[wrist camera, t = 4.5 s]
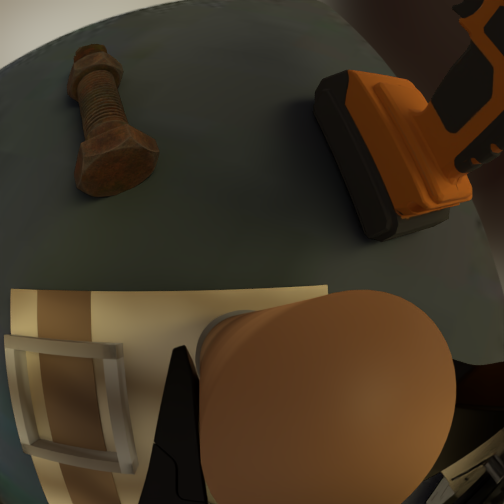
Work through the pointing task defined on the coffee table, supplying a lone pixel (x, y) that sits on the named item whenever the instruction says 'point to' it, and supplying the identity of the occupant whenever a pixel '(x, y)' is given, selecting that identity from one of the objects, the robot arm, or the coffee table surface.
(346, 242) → the coffee table surface
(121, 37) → the coffee table surface
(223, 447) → the brown piece
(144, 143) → the bolt
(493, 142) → the power drill
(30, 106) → the coffee table surface
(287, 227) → the coffee table surface
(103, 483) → the subfloor panel
